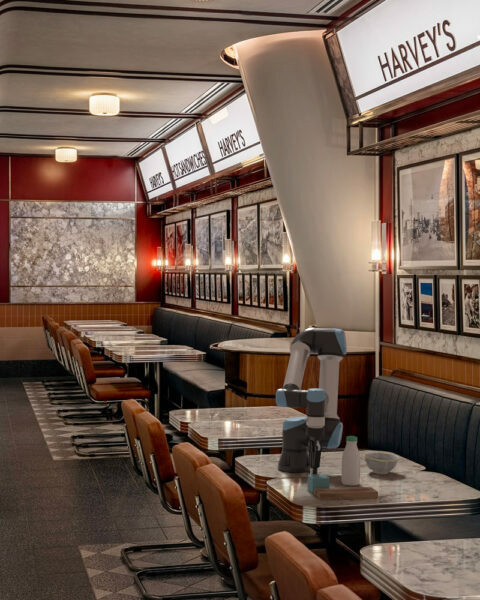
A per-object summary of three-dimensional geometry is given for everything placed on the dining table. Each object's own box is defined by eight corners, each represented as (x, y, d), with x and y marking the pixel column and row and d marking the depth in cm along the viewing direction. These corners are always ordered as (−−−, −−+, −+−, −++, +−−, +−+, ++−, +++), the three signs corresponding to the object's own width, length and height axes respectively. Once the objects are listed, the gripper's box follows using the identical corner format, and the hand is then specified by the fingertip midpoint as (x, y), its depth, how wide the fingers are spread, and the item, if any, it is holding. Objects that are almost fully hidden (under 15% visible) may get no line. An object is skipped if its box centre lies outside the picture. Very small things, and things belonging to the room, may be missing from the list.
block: (307, 489, 361) (307, 474, 361) (323, 488, 362) (324, 474, 362) (312, 493, 354) (312, 478, 354) (329, 492, 356) (329, 478, 355)
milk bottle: (359, 486, 367) (360, 438, 367) (340, 485, 369) (341, 437, 368) (360, 482, 375) (361, 435, 374) (342, 481, 377) (343, 434, 376)
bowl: (404, 472, 397) (404, 455, 397) (390, 478, 384) (391, 461, 384) (371, 467, 406) (372, 450, 406) (356, 473, 393) (357, 456, 392)
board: (313, 494, 352) (314, 488, 352) (370, 493, 357) (370, 486, 357) (319, 499, 344) (320, 493, 344) (378, 498, 349) (378, 491, 349)
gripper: (302, 423, 369) (300, 480, 369) (311, 429, 356) (309, 487, 356) (319, 423, 370) (317, 479, 371) (328, 429, 357) (327, 487, 358)
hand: (313, 483), depth 364 cm, fingers closed
